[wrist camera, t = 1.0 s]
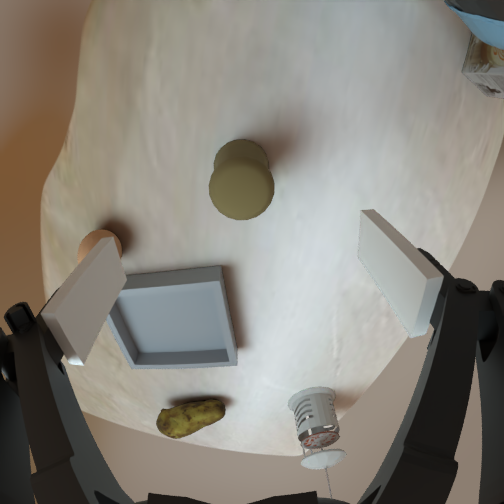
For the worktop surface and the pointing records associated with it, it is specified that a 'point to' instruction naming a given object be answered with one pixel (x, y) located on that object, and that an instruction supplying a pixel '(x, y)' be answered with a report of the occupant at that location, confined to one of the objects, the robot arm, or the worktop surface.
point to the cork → (241, 180)
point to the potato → (189, 418)
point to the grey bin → (174, 320)
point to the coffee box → (485, 67)
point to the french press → (317, 426)
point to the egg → (93, 240)
